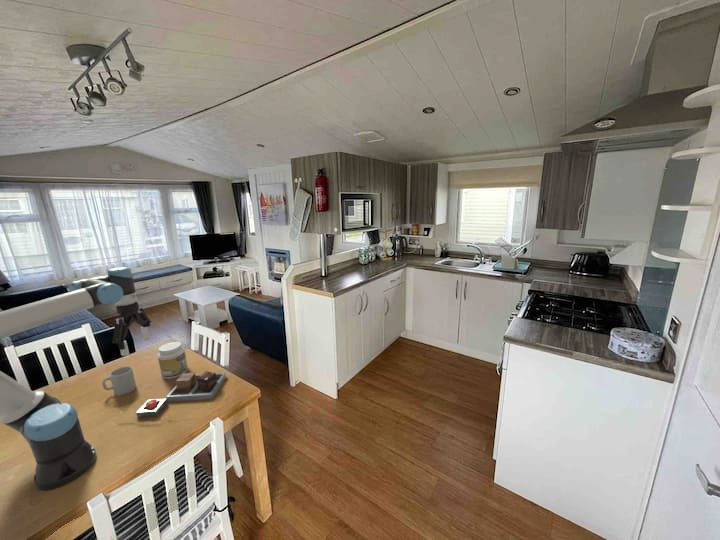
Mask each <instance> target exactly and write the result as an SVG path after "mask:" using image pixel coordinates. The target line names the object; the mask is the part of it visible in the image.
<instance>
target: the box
mask: <svg viewBox="0 0 720 540" xmlns="http://www.w3.org/2000/svg"><path fill="white" fill-rule="evenodd" d="M216 373H217V372H212V371H204V372H203V373H201V374H202V375H200V376H199V377H198V378H197V381H198V387H199V391H203V392H210V391H211V390H212V389H213V388H214V386H215V385H216V383H217V379H216Z"/></svg>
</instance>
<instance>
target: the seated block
mask: <svg viewBox="0 0 720 540" xmlns="http://www.w3.org/2000/svg"><path fill="white" fill-rule="evenodd" d="M175 382H176V383H175V384H176V385H177V389H178V394H179V393H190V391H191V390H192V389H193V388H194V386H195V385H196V384H197V381H196V373H195V372H188V373H186V372H185V373H184V374H182V375H180V376H178V378H177V379H176V381H175Z"/></svg>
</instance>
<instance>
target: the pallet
mask: <svg viewBox="0 0 720 540" xmlns="http://www.w3.org/2000/svg"><path fill="white" fill-rule="evenodd" d="M215 373H216V379H217V383H216V385H215V386H214V388H213V389H212V390H211V391H210V392H203V391H199V387H198V381H197V378H198V377H199V376H200V375H202V374H203V373H199V374H196V373H195V375H196V381H197V384H196V385H195V386H194V388H193V389H192V390H191V391H190V393H179V394H178V389H177V384H176V385H175V386H174V387H173V388H172V389H171V391H170V392H169V393H168V394H167V395H166V396H165V399H167V403H168V402H182V401H185V402H186V401H199V400H200V401H201V400H204V401H205V400H213V399H214V398H215V396H216V394H217V393H218V391H219V390H220V388H221V386H222V385H223V383H224V382H225V380H226V379H227V373H226V372H219V373H217V372H215Z"/></svg>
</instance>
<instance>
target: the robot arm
mask: <svg viewBox="0 0 720 540" xmlns="http://www.w3.org/2000/svg"><path fill="white" fill-rule="evenodd" d="M68 290H69V292H66V293H62V294H61V293H60V294H57V295H55V296H52V297H47V298H44V299H41V300H37V301H33V302H30V303H27V304H23V305H20V306H16V307H12V308H9V309H6V310H2V311H0V340H1V339H5V338H7V337H10V336H14V335H16V334H19V333H21V332H25V331H28V330H31V329H34V328H36V327H39V326H42V325H45V324H49V323H50V322H55V321H58V320H60V319H63V318H66V317H68V316H72V315H74V314H77V313H80V312H84V311H86V310H89V309H92V308H96V307H98V306H101V305H113V304H115V309H116V313H117V314H118V315H120V318H114V321H113V322H114V329H113V336H112V340H111V341H112V344H117V346H118V350H119V351H120V352H119V353H120V355H121V357H124V356H129V355H130V351H129V347H128V343H127V340H126V337H127V333H128V332H129V329H130V327H131V325H132V324H133V323H137V324H139V325H140V326H141V327H140V330H141V331H140V332H141V337H142V339H143V341H150V340H151V335H150V330H149V327H150V326H151V323H152V321H151V319H150V318H149V317H148V315H147V314H146V312H145V310H144V308H143V307H140V304H139V301H138V295H137V293H136V287H135V282H134V276H133V273H132V270H131V269H130V268H129V267H126V266H125V267H124V266H121V267H113V268H109V269H108V270H107V274H105V275H101V276H96V277H91V278H89V277H88V278H85V279H84V278H83V279H79V280H74V281H70V282H69V284H68ZM0 415H1V416H0V423H2V424H4V425H6V426H8V427H10V428H11V429H12V430H15V431H17V432H18V433H20V434H21V435H22V437H23V438H24V439H25V440H26V442H27V443H28V445H29V446H30V449H31V451H32V455H33V456H34V460H35V463H36V465H35V466H36V467H35V474H34V476H33V483H34V486H35V488H36V489H37V490H39V491H51V490H55V489H57V488H61V487H62V486H65V485H67V484H69V483H71V482H73V481H74V480H76V479H78V478H79V477H80V476H82V475H83V474H84V473H86V472H87V471H88V470H89V469H90V468H91V467H92V466H93V465H94V463H95V462H96V460H97V452H96V449H95V447H93V446H92V445H91V444H90V443H89V442H88V441H87V440H86V439H85V437H84V433H83V430H82V427H81V422H80V420H79V416H78V415H79V414H78V411H77V410H76V408H75V406H74V405H73V404H71V403H67V402H61V401H60V400H59V399H58V398H57V397H55V396H52V395H49V394H48V393H47V392H46V391H43V390H42V389H41V390H40V389H39V390H34V391H33V390H31V389H29V388H28V387H26V386H25V385H24V384H22V383H20V382H18V381H17V380H16V379H14V378H13V377H11V376H9V375H8V374H6V373H4V372H3V371H1V370H0Z"/></svg>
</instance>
